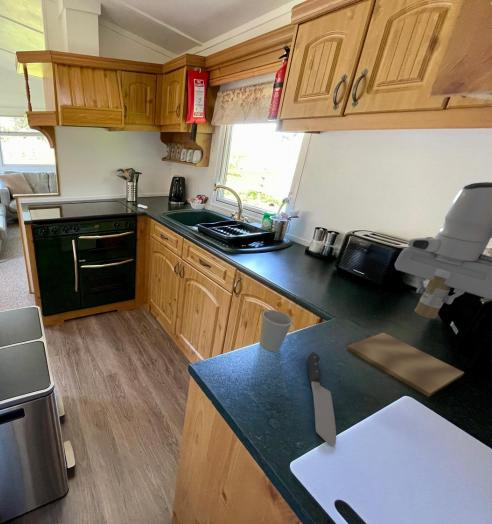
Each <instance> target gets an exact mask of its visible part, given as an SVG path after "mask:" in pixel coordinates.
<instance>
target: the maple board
mask: <svg viewBox="0 0 492 524" xmlns="http://www.w3.org/2000/svg"><path fill="white" fill-rule="evenodd" d="M346 350H348V351H350V352H351V353H353V354H354V355H357V356H358V357H360V358H361V359H363V360H365V361H366V362H368V363H370V364H372V365H373V366H375V367H377V368H378V369H380V370H382V371H383V372H385V373H387V374H389V375H390V376H392V377H393V378H394V379H395V378H396V379H397V380H399V381H400V382H402V383H404V384H405V385H407V386H409V387H411V388H413V389H414V390H416V391H418V392H419V393H421V394H422V395H424V396H426V397H428V398H429V397H431V396H432V395H434V394H436V393H437V392H439V391H441V390H442V389H444V388H446V387H447V386H448V385H450V384H452V383H453V382H455V381H457V380H458V379H459V378H461V377H464V374H465V372H464V371H463V370H461V369H459V368H457V367H455V366H452V365H450V364H449V363H446V362H444V361H442V360H440V359H438V358H436V357H434V356H432V355H430V354H429V353H427V352H424V351H422V350H421V349H418V348H416V347H414V346H412V345H410V344H408V343H406V342H403V341H401V340H400V339H397V338H395V337H393V336H391V335H389V334H387V333H385V332H381V333H377V334H375V335H373V336H370V337H367V338H365V339H362V340H359V341H357V342H354V343H352V344H348V345H347V347H346Z"/></svg>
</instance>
